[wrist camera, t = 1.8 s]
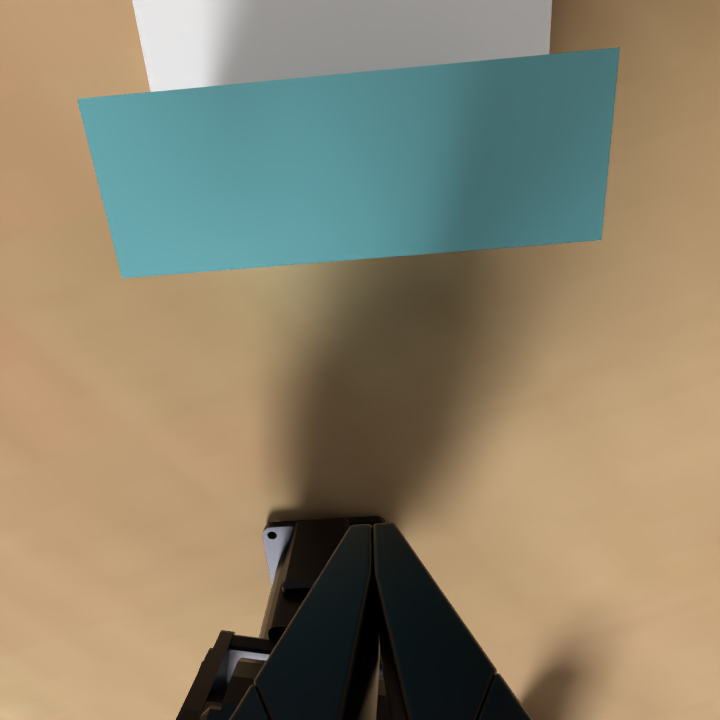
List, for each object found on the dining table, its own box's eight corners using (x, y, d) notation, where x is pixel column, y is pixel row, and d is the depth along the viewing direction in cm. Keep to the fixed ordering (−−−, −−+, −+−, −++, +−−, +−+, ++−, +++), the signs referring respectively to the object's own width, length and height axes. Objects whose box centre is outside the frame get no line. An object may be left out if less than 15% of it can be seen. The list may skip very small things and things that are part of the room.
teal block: (499, 234, 18) (600, 239, 10) (223, 257, 18) (122, 278, 11) (502, 130, 17) (619, 47, 9) (206, 156, 17) (77, 98, 9)
